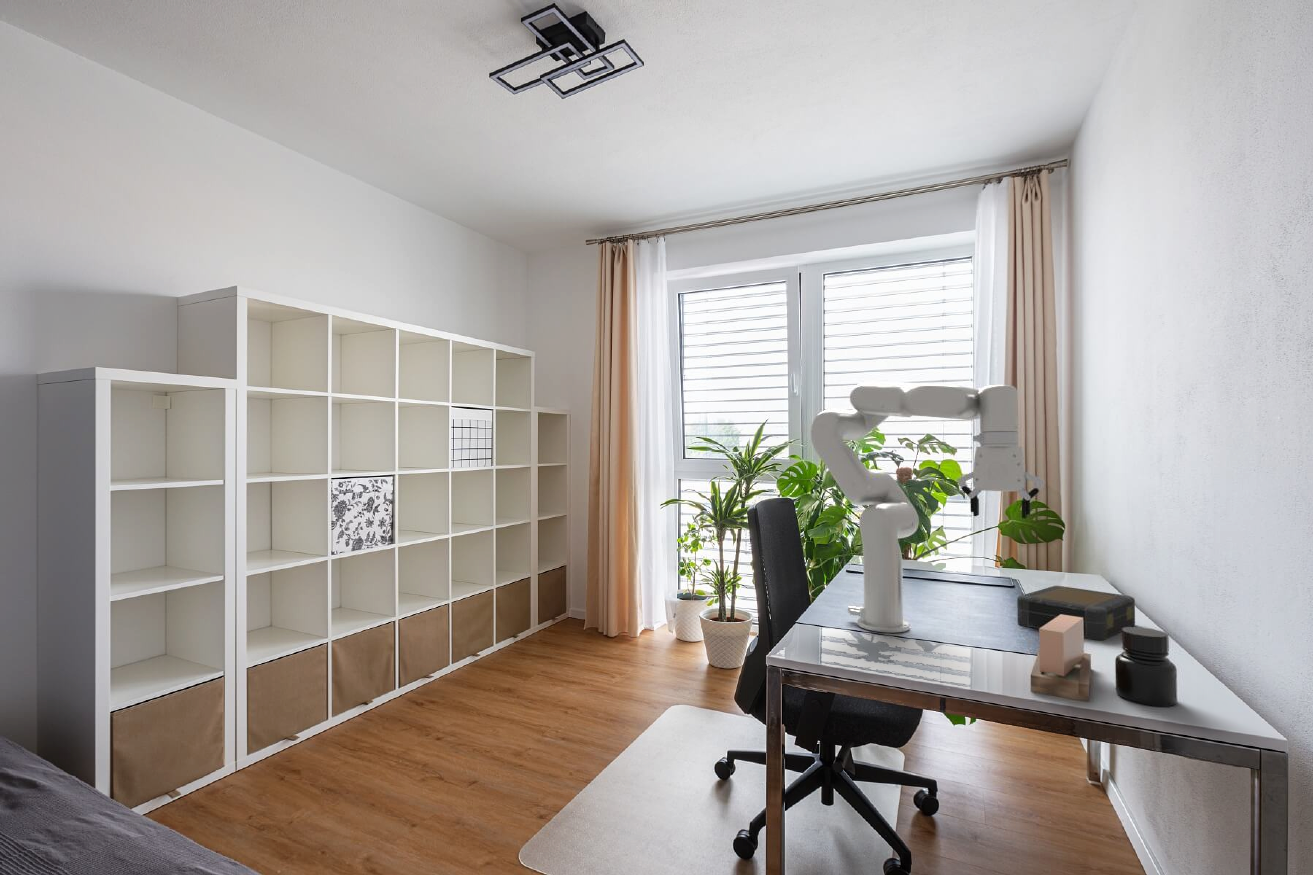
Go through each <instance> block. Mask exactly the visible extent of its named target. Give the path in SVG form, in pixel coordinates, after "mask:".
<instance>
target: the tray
mask: <svg viewBox="0 0 1313 875" xmlns="http://www.w3.org/2000/svg"><path fill="white" fill-rule="evenodd" d="M1091 656H1092V655H1091V653H1085V652H1084V658H1083V659H1082V660H1081V661H1080V662H1079V663H1077V664H1076V665H1075V666H1074V667H1073V668H1072V669H1071V670H1070V671H1069V672H1068V673H1067V674H1066V675H1065V676H1061V675H1056V674H1051V673H1046V672H1041V671H1040V653H1039V651H1038V652H1037V655H1036V658H1035V662H1034V664H1033V667H1032V669H1031V673H1030V692H1033V693H1039V694H1044V695H1049V696H1055V697H1061V698H1065V699H1072V700H1077V701H1082V702H1088V703H1089V702H1090V688H1091V673H1092V662H1091V661H1092V659H1091Z"/></svg>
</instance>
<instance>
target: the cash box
mask: <svg viewBox="0 0 1313 875" xmlns="http://www.w3.org/2000/svg"><path fill="white" fill-rule="evenodd" d="M1016 602H1017V605H1016V606H1017V625H1019V626H1021V625H1022V626H1023V627H1026V626H1029V627H1028V628H1031V627H1033V628H1032V629H1036V628H1037V629H1036V630H1039V629H1040V628H1041V627H1043V626H1044V625H1045V624H1047V623H1048V622H1050V621H1051V620H1053V619H1054V618H1056V617H1057V616H1059V615H1060V614H1062V615H1069V616H1075V617H1082V618H1083V629H1084V639H1088V640H1093V641H1100V642H1101V641H1105V640H1107V639H1110V638H1111V637H1113V636H1115V635H1118V634H1119V633H1122V628H1124V627H1132V626H1133V627H1136V609H1135V608H1136V607H1135V606H1136V604H1135V603H1136V601H1135V598H1134V597H1132V596H1130V595H1124V594H1119V593H1111V592H1103V591H1096V590H1090V589H1085V588H1084V589H1083V588H1077V587H1070V586H1064V585H1063V586H1062V585H1053V586H1049V587H1046V588H1043V589H1039V590H1036V591H1031V592H1029V593H1025V594H1022V595H1020V596H1017V601H1016Z"/></svg>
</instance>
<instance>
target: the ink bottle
mask: <svg viewBox="0 0 1313 875" xmlns="http://www.w3.org/2000/svg"><path fill="white" fill-rule="evenodd" d="M1169 639H1170V638H1169V634H1168V633H1167V632H1164V631H1161V630H1157V629H1154V628H1149V627H1138V626H1133V627H1124V628H1122V632H1121V645H1122V646H1121V649H1122V650H1123V651H1122V652H1120V654H1118V655H1117V656H1116V657H1115V661H1114V662H1115V664H1114V666H1115V667H1114V668H1115V669H1114V670H1115V671H1114V673H1115V692H1116V694H1117V695H1118V696H1120V697H1122V698H1123V699H1126V700H1128V701H1132V702H1134V703H1138V704H1141V705H1146V706H1155V707H1170V706H1174V705H1176V704H1178V673H1177V672H1178V671H1177V667H1176V665H1175V664H1174V663H1173V661H1171V660H1170V659H1169V658H1168V656H1169V651H1170V649H1169V648H1170V645H1169V644H1170V642H1169Z"/></svg>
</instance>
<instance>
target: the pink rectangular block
mask: <svg viewBox="0 0 1313 875" xmlns="http://www.w3.org/2000/svg"><path fill="white" fill-rule="evenodd" d="M1038 631H1039V632H1038V636H1039V637H1038V638H1039V639H1038V640H1039V642H1038V643H1039V644H1038V645H1039V647H1038V648H1039V650H1038V652H1039V653H1040V671H1041V672H1046V673H1051V674H1056V675H1061V676H1065V675H1066V674H1067V673H1068V672H1069V671H1070V670H1071V669H1072V668H1073V667H1074V666H1075V665H1076V664H1077V663H1079V662H1080V661H1081V660H1082V659H1083V658H1084V653H1085V649H1084V648H1085V643H1084V640H1085V638H1084V629H1083V618H1082V617H1075V616H1069V615H1062V614H1060V615H1059V616H1057V617H1056V618H1054V619H1053V620H1051V621H1050V622H1048V623H1047V624H1045V625H1044V626H1043V627H1041V628H1040V629H1038Z"/></svg>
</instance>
